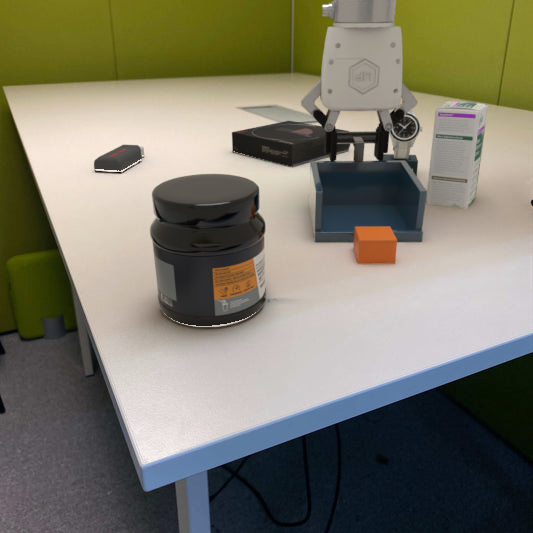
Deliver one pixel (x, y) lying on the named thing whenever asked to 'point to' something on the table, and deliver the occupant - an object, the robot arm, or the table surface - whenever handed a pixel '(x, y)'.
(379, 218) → the blue open box
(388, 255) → the block
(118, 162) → the usb drive
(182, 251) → the supplement container
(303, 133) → the black flat cardboard box
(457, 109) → the syrup box
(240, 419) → the table surface
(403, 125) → the watch
